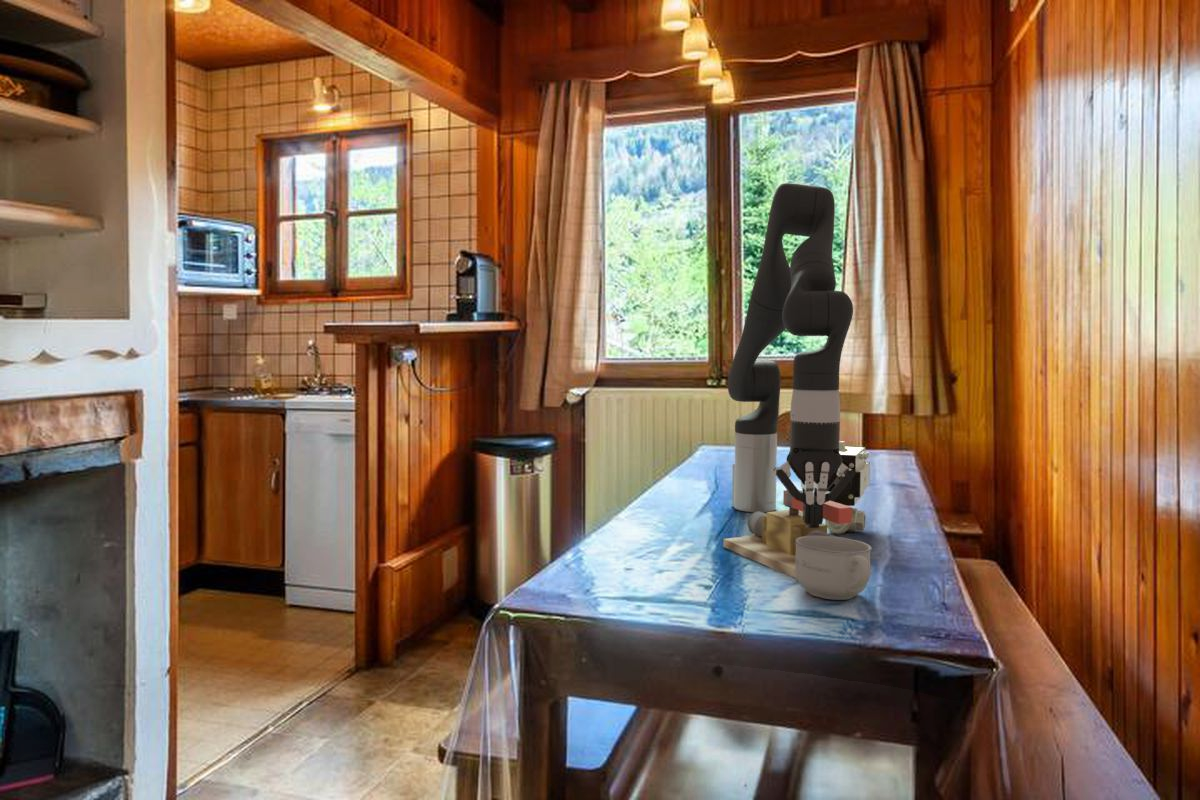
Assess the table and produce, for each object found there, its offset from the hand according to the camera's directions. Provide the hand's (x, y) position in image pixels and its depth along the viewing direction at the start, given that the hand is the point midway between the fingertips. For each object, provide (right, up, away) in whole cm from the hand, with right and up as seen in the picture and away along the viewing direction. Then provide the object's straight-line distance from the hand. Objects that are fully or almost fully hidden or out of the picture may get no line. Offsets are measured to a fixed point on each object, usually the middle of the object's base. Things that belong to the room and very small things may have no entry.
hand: (812, 526), depth 124 cm
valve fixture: (0, -7, +12) cm, 14 cm away
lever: (+2, +1, +6) cm, 6 cm away
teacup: (+1, -9, -9) cm, 13 cm away
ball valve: (+15, -6, +31) cm, 35 cm away
